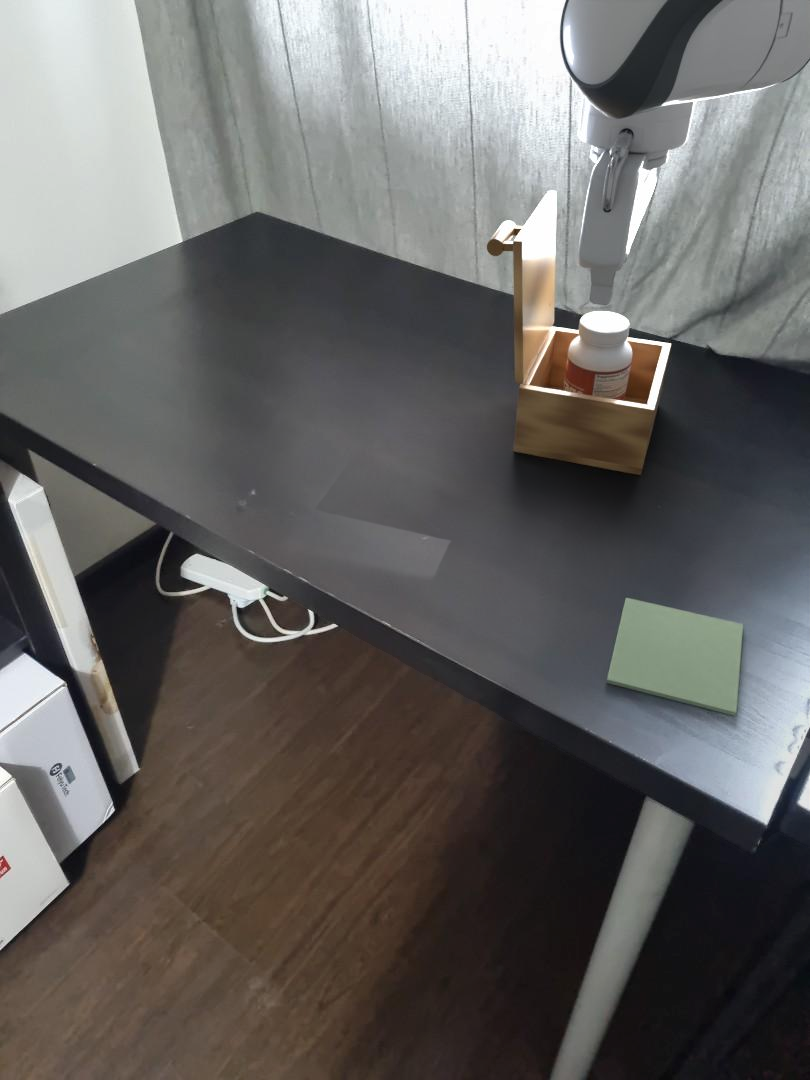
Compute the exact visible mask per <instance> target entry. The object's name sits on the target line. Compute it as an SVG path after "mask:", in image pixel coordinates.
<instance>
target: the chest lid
mask: <svg viewBox="0 0 810 1080" xmlns="http://www.w3.org/2000/svg"><path fill="white" fill-rule="evenodd" d="M556 233H557V191H556V190H548V191H547V193H546V194H544V196H543V198H542V199H541V201H540V202H539V203H538V205H537V206H536V207H535V209H534V211H533V212H532V213H531V215H530V217H529V218H528V219H527V220H526V222H525V224H524V225H516V223H515V222H514V221H512V220H510V219H509V220H505V221H503V222H502V223H501V224H500V226H499V227H498V229H497V230H496V231H495V232H494V233H493V235H492V236H491V237H490V239H489V240H488V242H487V243H486V251H487V253H488V254H489V255H491V256H492V257H498V256H500V255H502V254H503V252H512V261H513V262H512V265H513V266H512V267H513V268H512V269H513V271H512V272H513V273H512V274H513V325H514V326H513V328H514V329H513V330H514V332H513V333H514V383H516V384H521V383H522V384H523V383H524V381H525V379H526V377H527V375H528V373H529V371H530V369H531V367H532V365H533V363H534V361H535V359H536V357H537V355H538V353H539V351H540V349H541V347H542V345H543V343H544V341H545V339H546V337H547V335H548V333H549V331H550V329H551V327H553V326H554V323H555V305H556V303H555V301H556V299H555V298H556V296H555V295H556V242H557V241H556V239H557V237H556V236H557V235H556ZM514 237H515V238H514ZM513 238H514V239H513Z"/></svg>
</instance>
